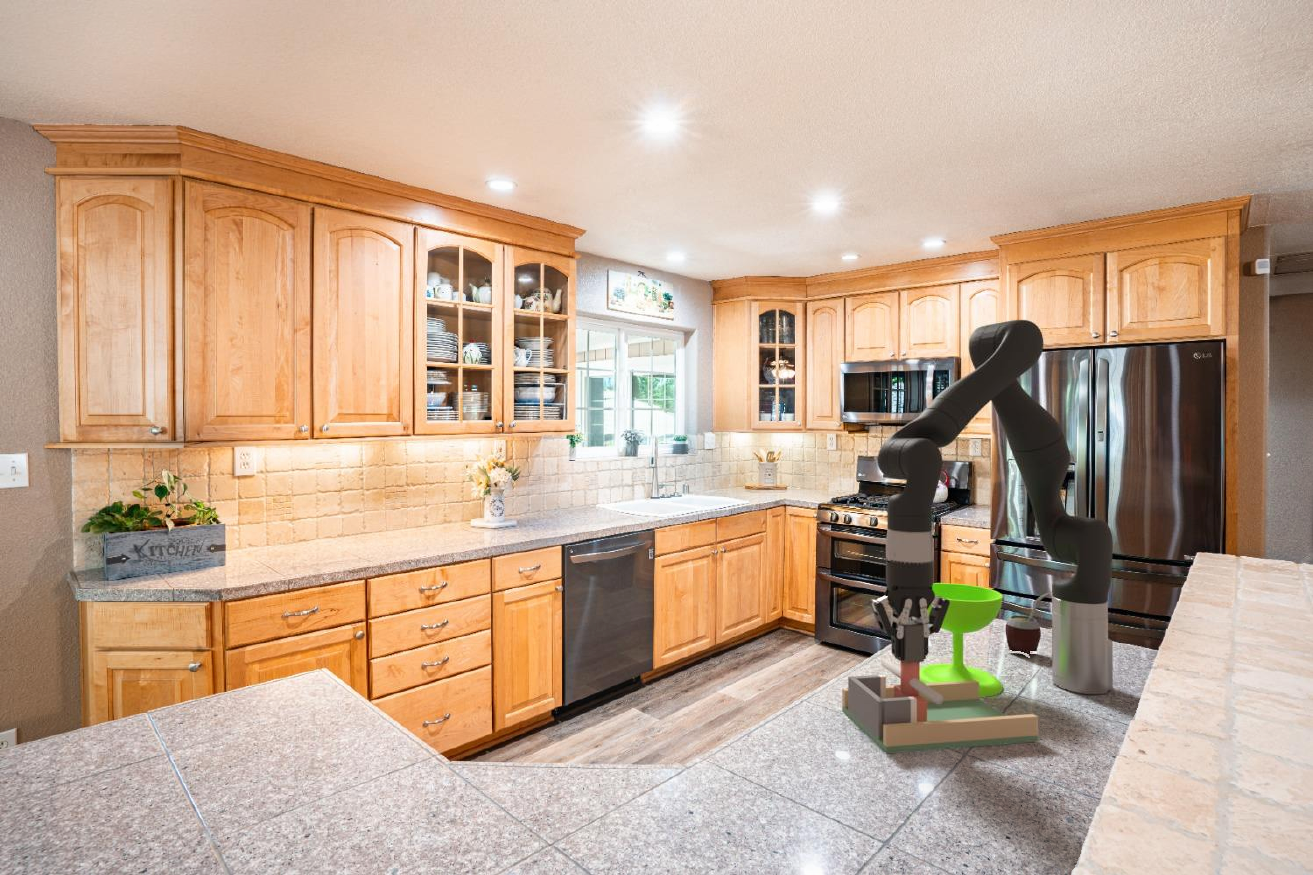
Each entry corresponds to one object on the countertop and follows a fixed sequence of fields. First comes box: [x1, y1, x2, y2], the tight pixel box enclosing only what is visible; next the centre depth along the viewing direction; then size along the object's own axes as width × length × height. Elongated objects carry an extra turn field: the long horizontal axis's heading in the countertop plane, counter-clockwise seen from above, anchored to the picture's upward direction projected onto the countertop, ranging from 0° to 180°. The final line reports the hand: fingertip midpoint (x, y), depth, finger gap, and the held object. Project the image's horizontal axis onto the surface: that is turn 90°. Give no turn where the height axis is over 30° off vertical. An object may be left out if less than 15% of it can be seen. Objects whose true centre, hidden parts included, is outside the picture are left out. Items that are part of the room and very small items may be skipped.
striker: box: [880, 619, 944, 722], centre depth 111 cm, size 3×17×16 cm, turn 8°
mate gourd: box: [1004, 591, 1052, 654], centre depth 148 cm, size 8×8×15 cm
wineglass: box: [920, 582, 1004, 698], centre depth 132 cm, size 16×16×18 cm
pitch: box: [841, 674, 1039, 754], centre depth 111 cm, size 26×16×7 cm, turn 98°
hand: (909, 657), depth 111 cm, fingers closed on striker, 3 cm apart
